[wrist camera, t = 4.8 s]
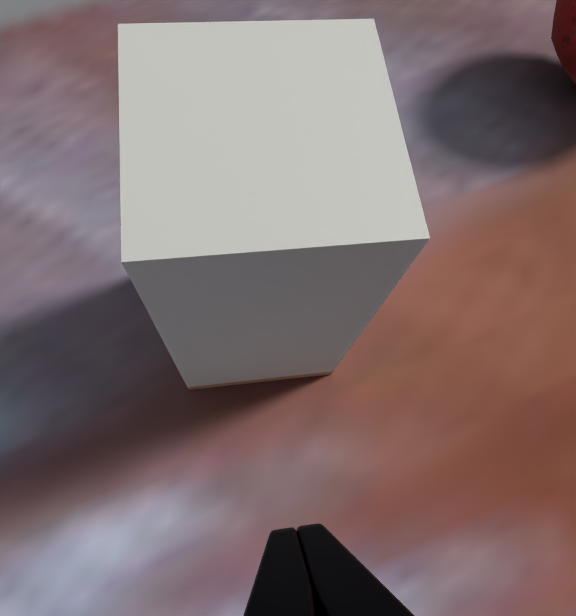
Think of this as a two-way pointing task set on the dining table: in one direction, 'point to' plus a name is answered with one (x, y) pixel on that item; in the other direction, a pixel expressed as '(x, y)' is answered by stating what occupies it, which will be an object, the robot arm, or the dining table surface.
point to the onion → (565, 35)
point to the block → (262, 192)
